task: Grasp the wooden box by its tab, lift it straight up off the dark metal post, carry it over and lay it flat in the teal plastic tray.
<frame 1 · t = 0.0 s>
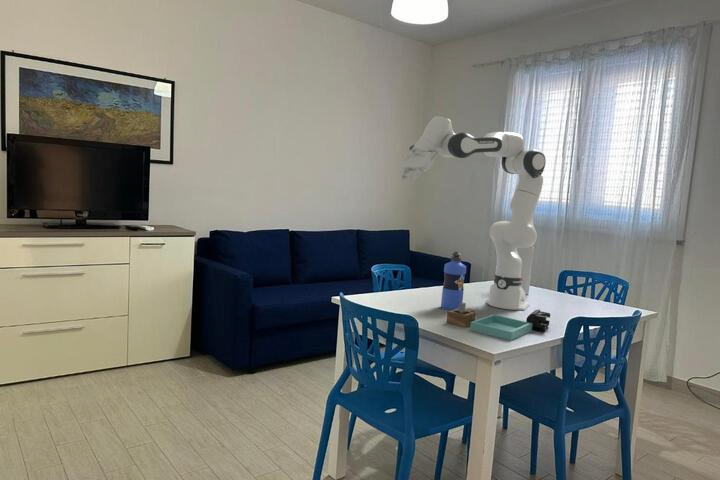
hand: (407, 178, 214), 54 cm above the table, tool tilted 30°, fingers open, 8 cm apart
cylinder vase: (516, 293, 278), on the table
tray: (501, 330, 197), on the table
black blocky piece: (537, 329, 205), on the table
wooden box: (460, 323, 203), on the table
water bottle: (451, 308, 228), on the table
stake: (460, 323, 203), on the table
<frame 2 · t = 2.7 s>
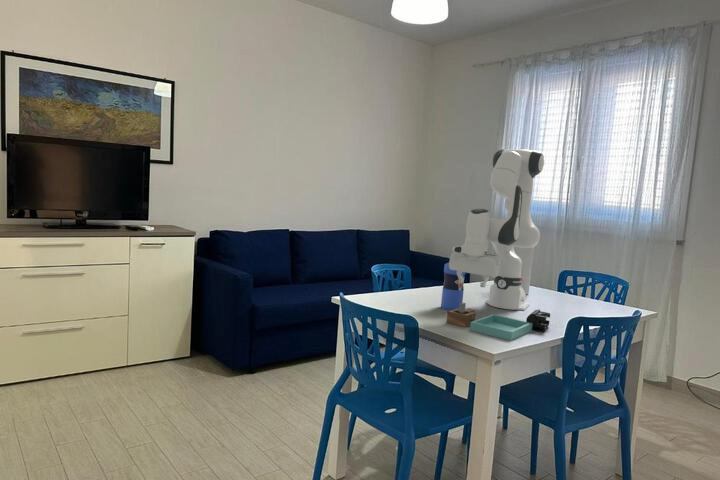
hand: (471, 284, 207), 15 cm above the table, tool pointing down, fingers open, 8 cm apart
nothing on the table moved.
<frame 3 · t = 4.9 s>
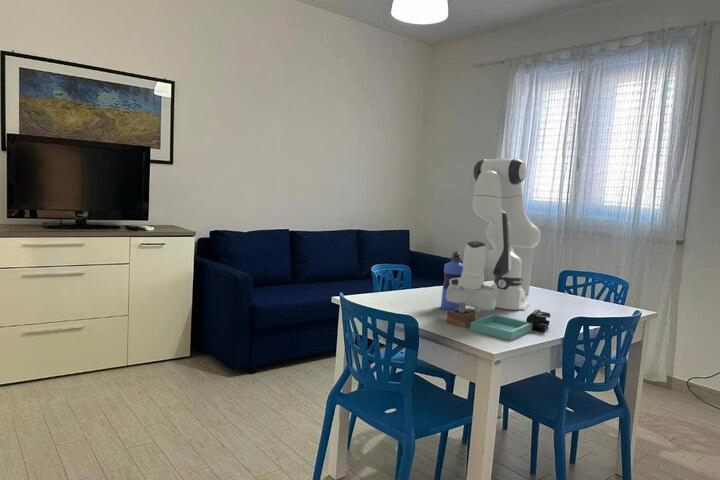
hand: (468, 316, 208), 2 cm above the table, tool pointing down, fingers closed on wooden box, 3 cm apart
wooden box: (460, 323, 203), on the table, touching gripper
everything else where it was.
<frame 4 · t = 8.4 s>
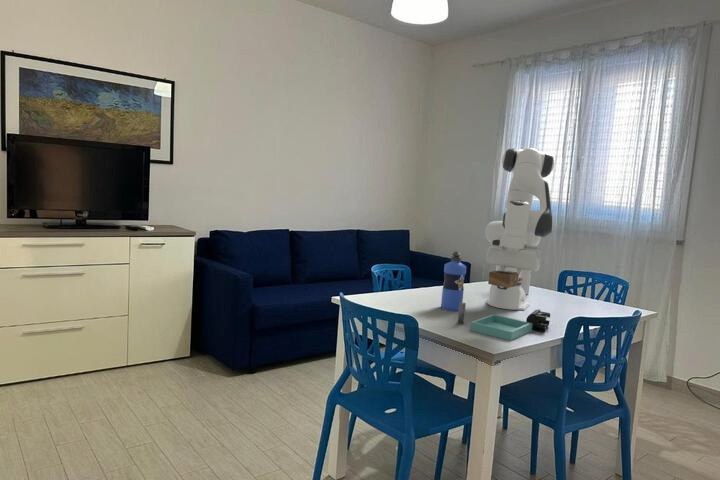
hand: (510, 279, 199), 19 cm above the table, tool pointing down, fingers closed on wooden box, 3 cm apart
wooden box: (502, 284, 194), point 18 cm above the table, touching gripper
everything else where it was.
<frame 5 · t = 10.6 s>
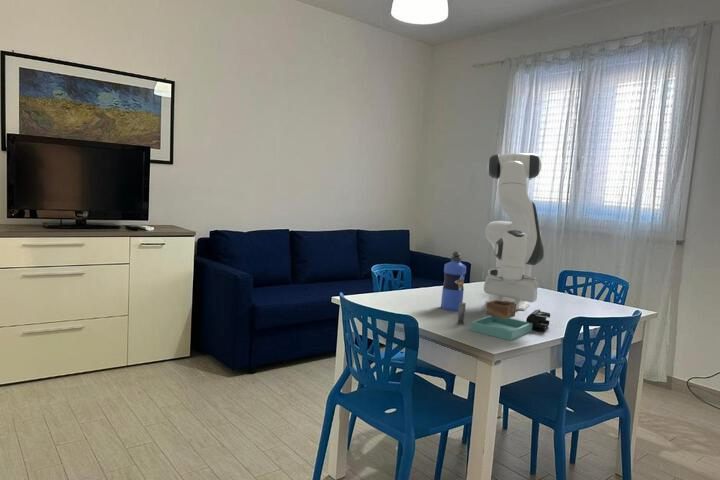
hand: (507, 309, 200), 8 cm above the table, tool pointing down, fingers closed on wooden box, 3 cm apart
wooden box: (500, 315, 195), point 6 cm above the table, touching gripper
everything else where it was.
when the fingers open (4 cm above the table, at t = 12.1 s): wooden box drops 1 cm, resting on tray.
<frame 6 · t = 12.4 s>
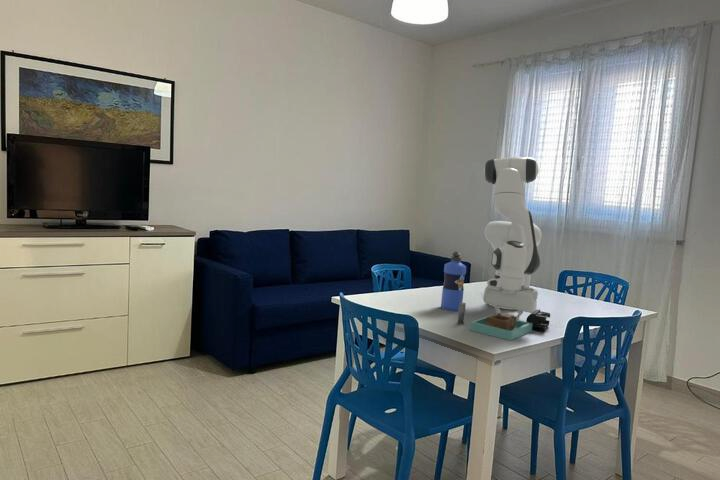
hand: (507, 319, 201), 4 cm above the table, tool pointing down, fingers open, 5 cm apart
wooden box: (499, 329, 196), point 1 cm above the table, touching tray
everything else where it was.
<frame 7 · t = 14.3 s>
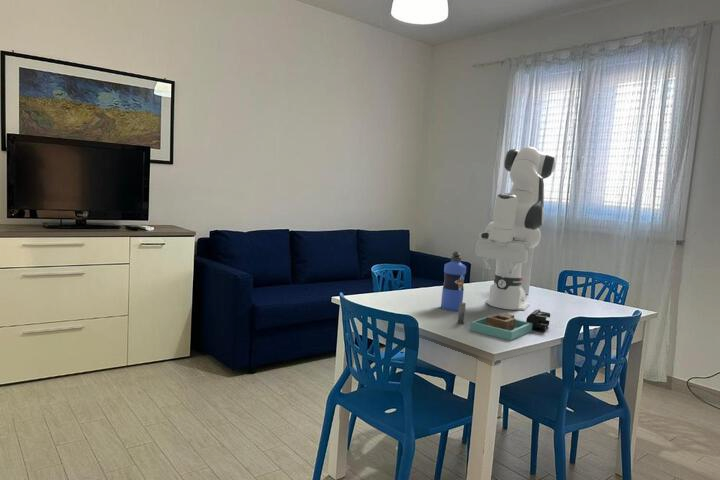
hand: (499, 271, 202), 21 cm above the table, tool pointing down, fingers open, 8 cm apart
nothing on the table moved.
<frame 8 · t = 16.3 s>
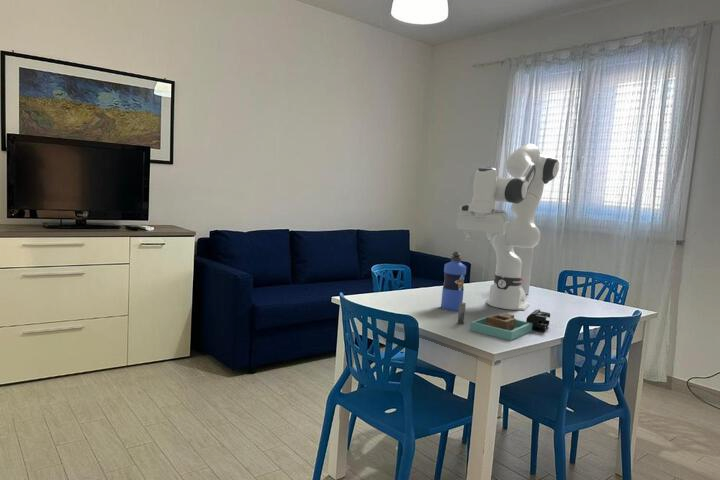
hand: (478, 243, 207), 31 cm above the table, tool pointing down, fingers open, 8 cm apart
nothing on the table moved.
at the end: wooden box inside the target area on the tray (1.4 cm from its centre), point 0.6 cm above the tray's base; wooden box tilted 0°; the gripper is holding nothing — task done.
